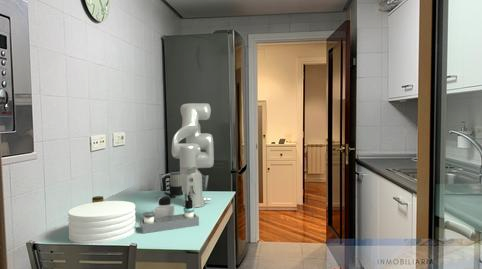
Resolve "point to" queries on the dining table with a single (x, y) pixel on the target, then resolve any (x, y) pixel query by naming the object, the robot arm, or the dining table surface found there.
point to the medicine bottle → (164, 207)
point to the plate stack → (101, 221)
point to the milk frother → (173, 184)
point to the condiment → (97, 199)
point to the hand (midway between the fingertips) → (188, 208)
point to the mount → (168, 223)
